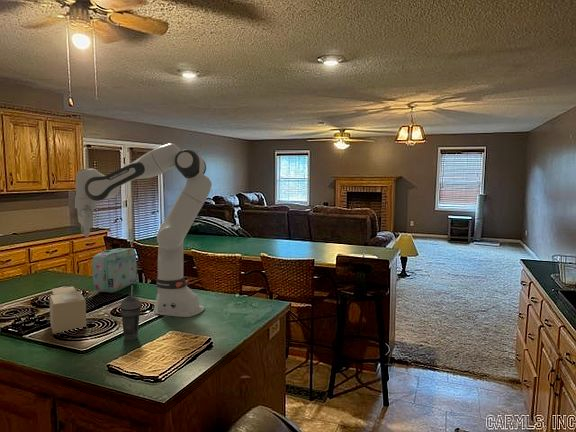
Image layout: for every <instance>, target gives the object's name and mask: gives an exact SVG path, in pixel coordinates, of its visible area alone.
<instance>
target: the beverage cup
mask: <svg viewBox="0 0 576 432" xmlns="http://www.w3.org/2000/svg"><path fill="white" fill-rule="evenodd" d="M130 286H131V287H130V289H131V290H130V295H128V296H126V297H124V298H123V299H122V301H121V303H120V307H119V310H120V314H121V322H122V323H121V324H122V330H123V338H124V340H125V341H134V340H136V339H138V333H139V324H140V313H141V308H142V304H141V301H140V299H139V298H138V297H136V296H134V295H133V291H134V285H133V284H131V285H130Z"/></svg>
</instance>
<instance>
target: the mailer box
mask: <svg viewBox="0 0 576 432" xmlns="http://www.w3.org/2000/svg"><path fill="white" fill-rule="evenodd" d="M49 323H50V324H51V325H50V324H49V325H50V329H51V332H52V334H53V336H55V335H57V334H56V333H60V332H63V331H67V330H72V329H76V328H83V327H86V328H87V301H86V300H85V302H77V303H70V304H63V305H56V306H54V305H53V302H52V300H51V297H49ZM54 334H55V335H54Z"/></svg>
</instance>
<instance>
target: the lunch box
mask: <svg viewBox="0 0 576 432" xmlns="http://www.w3.org/2000/svg"><path fill="white" fill-rule="evenodd" d="M91 275H92V284H93V290H94V291H95V292H97V293H110V294H111V293H115V292H119V291H120V290H123V289H125V288H127V287H129V286H131V285H133V284H134V283H135V282H136V281H137V276H138V267H137V253H136V250H135V248H132V247H130V248H121V247H119V248H113V249H104V250H103V251H101V252H99V253H96V254H95V255H94V256H93V257H92V259H91Z"/></svg>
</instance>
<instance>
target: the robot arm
mask: <svg viewBox="0 0 576 432" xmlns="http://www.w3.org/2000/svg"><path fill="white" fill-rule="evenodd" d="M172 169H177V171H178V172H179V173H180V174H181V175H182V177H184V178H186V183H185V185H184V187H183V188H182V190H181V192H180V193H179V195H178V197H177V198H176V201H175V202H174V203H173V205H172V207H171V209H170V211H169V212H168V213H167V216H166V217H165V219H164V221H163V222H162V223H161V225H160V227H159V229H158V231H157V233H156V241H157V243H158V246H157V247H158V249H157V278H156V288H157V289H156V291H157V292H156V298H155V304H154V307H153V311H154V313H156V314H155V315H158V314H160V315H159V316H169V317H177V318H178V317H180V318H181V317H182V318H190V317H194V316H196V315H198V314H199V315H200V313H202V312H203V311H204V310H205V306H204V305H201V304H200V300H199V296H198V295H197V294H196V293H195V292H194V291H193V290H192V289H191V288H190V287H188V286H187V283H188V282H189V279H185V277H184V245H185V244H184V243H185V242H184V239H185V238H186V236H187V234H188V233H189V231H190V229H191V228H192V225H193V223H194V221H195V219H196V217H197V216H198V215H199V212H200V211H201V209H202V208H203V206H204V204H205V202H206V201H207V199H208V197H209V194H210V191H211V189H212V181H211V180H210V178H209V176H206V175H205V174H206V170H207V165H206V161H205V160H204V159H203V157H201V155H200V154H198V153H197V152H196V151H194V150H192V149H187V148H186V149H185V148H184V149H182V150H181V149H180V147H178V145H177V144H175V143H167V144H163V145H161V146H157V147H156V148H154V149H151V150H150V151H148V152H146V153H144V154H143V155H141V156H139V157H138V158H136V159H135V160H134V161H132V162H131V163H128V165H126V166H124V167H122V168H119V169H116V170H115V171H112V172H111V173H108V174H107V175H104V174H102V173H101V172H99V171H98V170H97V169H96V168H82V169H80V170H78V171H77V172H76V177H75V185H74V186H75V193H76V194H75V197H74V209H76V210H77V211H76V212H77V220H78V221H77V222H78V223H79V224H80V229H81V230H80V231H81V234H82V235H84V237H85V238H89V237H90V231H91V229H92V228H93V227H94V212H95V211H94V210H98V202H99V201H103V200H109V199H113V198H116V197H117V196H118V195H119V194H120V192H121V191H120V190H121V187H120V186H123V185H125V184H127V183H129V182H131V181H134V180H138V179H140V180H141V179H150V178H154V177H157V176H160V175H162V174H164V173H166V172H168V171H170V170H172Z"/></svg>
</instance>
